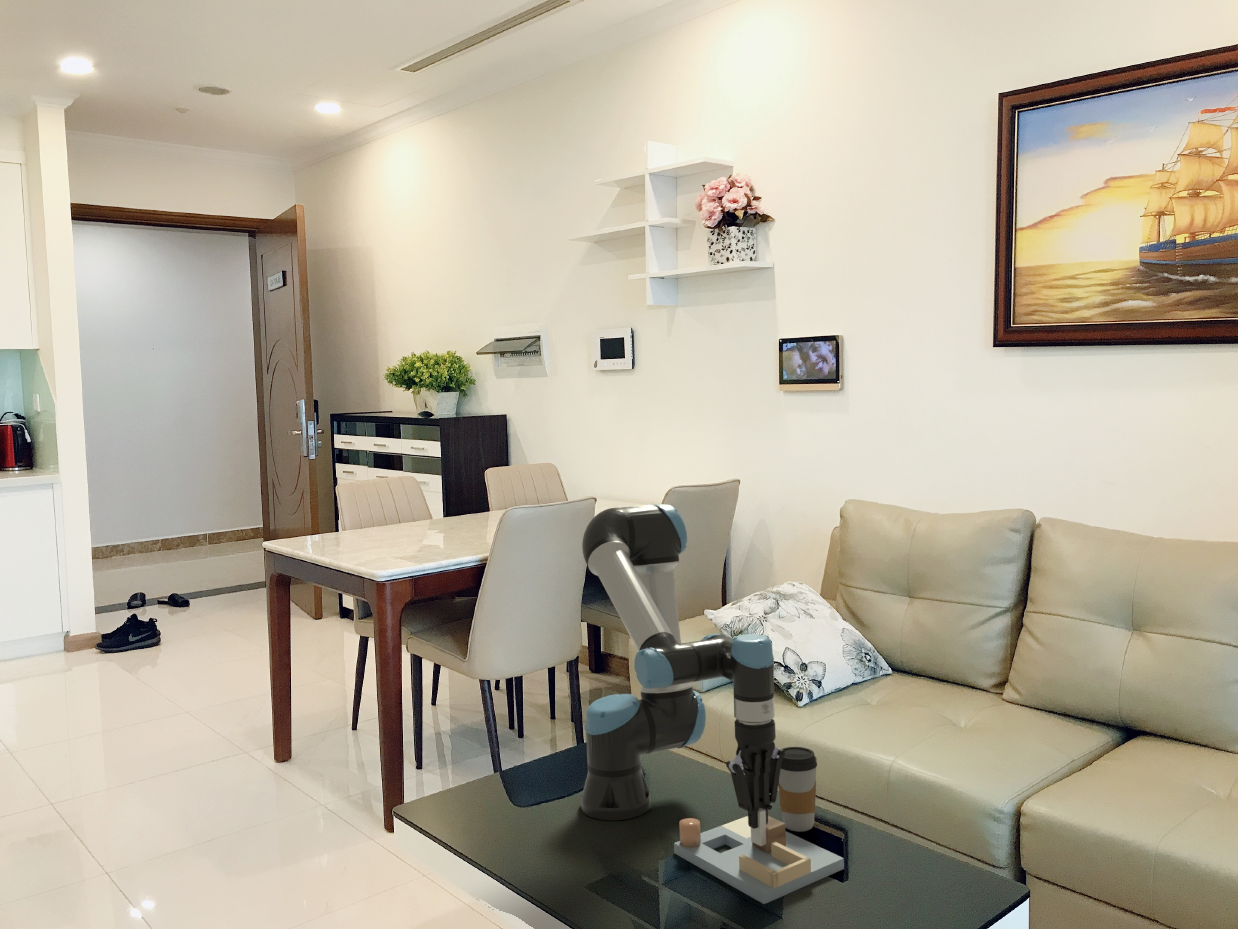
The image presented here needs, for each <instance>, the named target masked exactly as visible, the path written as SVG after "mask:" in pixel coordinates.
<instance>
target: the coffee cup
mask: <svg viewBox="0 0 1238 929" xmlns="http://www.w3.org/2000/svg"><path fill="white" fill-rule="evenodd" d="M781 749H782V750H784V751H785V755H784V758H783V760H782V763H781V769H780V776H779V783H778V795H779V805H780V807H779V808H780V812H781V813H780V814H781V819H782V820H781V822H783V823H785V829H787V830H789V831H792V832H807V831H809V830H811V829H813V827H814V825H815V812H816V799H817V798H816V796H817V795H816V792H817V766H818V762H817V761H818V760H817V757H816V756H815V752H814V751H813V750H812V749H810V748H807V747H803V746H802V747H801V746H787V747H783V748H781Z"/></svg>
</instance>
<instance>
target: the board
mask: <svg viewBox="0 0 1238 929" xmlns="http://www.w3.org/2000/svg"><path fill="white" fill-rule="evenodd" d="M700 833H701V844H700V845H699V846H697V847H692V848H689V847H684V846H682V845H681V844H680V840H679V841H676V842H674V843H673V854H675V855H677V856H679V857H680V858H682V859H683V860H686V861H687V862H689V863H691V864H692V865H694V866H697V867H698V868H700V869H701V870H703V871H705V872H707V873H709V874H710V875H712V876H714V877H716V879H719V880H721V881H722V882H724V883H725V884H727V885H730V886H731V887H733V888H735V889H736V890H738V891H740V892H741V893H744V894H745V895H747V896H749V897H751V898H752V899H754V900H755V901H758V902H760V903H761V904H762V905H766V904H769V903H770V902H772V901H775V900H777V899H779V898H781V897H784V896H787V895H789V894H790V893H793V892H795V891H797V890H799V889H801V888H804V887H806V886H809V885H812V884H813V883H815V882H817V881H820V880H822V879H825V878H826V877H829V876H832V875H833V874H836V873H837V872H841V871H842V870H844V869H845V868H844V867H845V861H844V860H845V859H844V857H842V856H840V855H838V854H836V853H834V852H831V851H829V850H827V849H825V848H822V847H820V846H818V845H816V844H814V843H812V842H810V841H808V840H806V839H804V838H801V837H799V836H797V835H795V834H793V833H791V832H789V831H786V847H785V846H783V845H781V844H779V843H777V842H773V843H771V853H769V854H768V853H766V852H764V851H762V850H760V849H758V848H756V847H754V846H752V842H751V827H749V825H748V815H746V816H743V817H741V818H739V819H735V820H733V821H730V822H728V823H725V824H722V825H719V826H716V827H714V828H711V829H708V830H706V831H703V832H700ZM725 845H726V846H728V847H729V848H731V849H727V850H725V851H722V852H718V851H717V850H715V849H718V848H719V847H722V846H725Z"/></svg>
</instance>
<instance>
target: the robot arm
mask: <svg viewBox="0 0 1238 929" xmlns="http://www.w3.org/2000/svg"><path fill="white" fill-rule="evenodd" d="M687 543H688V532H687V528H686V524H685V522H684V519H683V517H682V515H681V514H680V512H679V511H678V510H677V509H676V508H675V507H674V506H672V505H670V504H668V503H667V504H666V503H665V504H664V503H662V504H660V503H659V504H658V503H657V504H656V503H655V504H654V503H651V504H643V505H634V506H624V507H623V506H621V507H609V508H607V509H604V510H603V511H600V512H599V513H598V514H596V515H595V516H594V517H593V518H592V519H591V520H590V521H589V523H588V524H587V526H586V528H585V531H584V533H583V536H582V546H581V547H582V549H581V550H582V555H583V559H584V561H585V564H586V566H587V568H588V570H589V571H590V573H592V574H593V575H595V576H597V577H598V578H599V580H600V583H602V586H603V587H604V589H605V591H606V593H607V596H608V597H609V599H610V601H611V603H612V605H613V606H614V609H615V610H616V612H617V614H618V616H619V618H620V620H621V621H622V624H623V625H624V627H625V629H626V631H627V633H628V636H629V637H630V638H631V640H632V643H633V644H634V646H635V648H636V650H637V652H636V654H635V657H634V661H633V662H634V663H633V665H634V672H635V673H636V679H637V681H638V682H639V684H640V686H642V687H641V688H640V698H641V699H640V698H639V699H638V697H637V696H636V695H634V694H631V693H621V694H619V693H615V694H610V695H606V696H603V697H600V698H598V699H596V700H594V701H592V703H590V704H589V706H588V707H587V709H586V712H585V725H584V730H585V740H586V756H587V757H586V759H587V775H586V779H585V782H584V786H583V790H582V794H581V798H580V803H581V804H580V805H581V810H582V812H583V814H585V815H586V816H588V817H589V818H594V819H597V820H603V821H623V820H629V819H632V818H633V819H634V818H637V817H640V816H642V815H644V814H645V813H646V812H648V811H649V810H650V809H651V806H652V801H651V792H650V789H649V786H648V784H647V781H646V779H645V776H644V773H643V770H642V756H644V755H647V754H653V753H657V752H663V751H667V750H674V749H682V748H684V747H687V746H692V745H694V744H696V743H697V742H699V741H700V739H701V737H702V736H703V734H704V731H705V727H706V723H707V722H706V721H707V718H706V717H707V715H706V714H707V711H706V707H705V703H704V702H703V698H702V695H701V694H700V692H698V691H696V690H694V689H693V684H692V683H693V682H702V681H708V680H713V679H718V678H724V679H727V680H729V681H732V686H733V688H732V689H733V717H734V718H735V720H734V737H735V740H736V742H737V748H736V751H735V757H734V758H733V759H732V761H730V760H728V761H726V763H725V765H726V768H727V770H728V771H729V772H730V775H731V779H732V784H733V788H734V793H735V796H736V800H737V804H738V807H739V808H740V809H743V810H745V811H747V816H748V825H749V827H751V842H753V843H755V844H757V845H759V846H763V845H766V844H767V839H766V824H768V816H769V811H770V810H772V808H773V805H771V804H775V803H776V801H777V796H778V792H779V787H778V783H779V776H780V769H781V763H782V760H783V758H784V755H785V751H784V750H782V749H783V748H779V747H776V744H775V742H774V741H775V740H776V721H775V719H774V718H775V716H776V715H775V711H776V709H775V708H776V707H775V680H774V679H775V674H774V673H775V670H774V666H775V665H774V663H775V662H774V661H775V658H774V657H775V656H774V654H773V643H772V640H771V639H770V637H768V636H766V635H763V634H758V633H756V634H755V633H745V634H740V635H737V636H735V637H733V638H732V637H730V636H729V635H725V634H721V633H720V634H719V633H710V634H707V635H705V636H704V637H703V638H701V639H700V640H697V641H696V640H695V641H690V642H682V641H681V640H682V639H681V632H680V621H679V620H680V619H679V612H678V601H677V592H676V583H675V582H676V581H675V573H674V572H675V568H677V566H678V565H679V563H680V556H679V555H681V554H682V553H684V552H685V550H686V548H687Z"/></svg>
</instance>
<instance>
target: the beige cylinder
mask: <svg viewBox="0 0 1238 929" xmlns="http://www.w3.org/2000/svg"><path fill="white" fill-rule="evenodd" d="M678 827H679V841H680V844H681V845H682V846H684V847H689V848H692V847H697V846H699V845H700V844H701V833H702V832H701V821H700V820H699V819H697V818H694V817H693V818H692V817H691V818H689V817H688V818H683V819H680V820H679V824H678Z"/></svg>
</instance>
